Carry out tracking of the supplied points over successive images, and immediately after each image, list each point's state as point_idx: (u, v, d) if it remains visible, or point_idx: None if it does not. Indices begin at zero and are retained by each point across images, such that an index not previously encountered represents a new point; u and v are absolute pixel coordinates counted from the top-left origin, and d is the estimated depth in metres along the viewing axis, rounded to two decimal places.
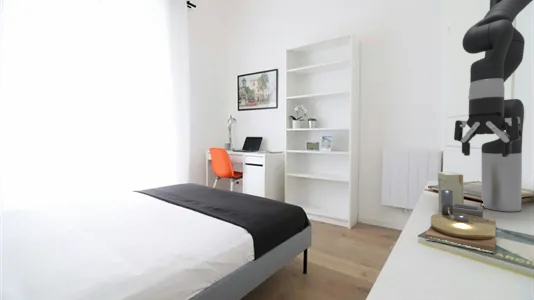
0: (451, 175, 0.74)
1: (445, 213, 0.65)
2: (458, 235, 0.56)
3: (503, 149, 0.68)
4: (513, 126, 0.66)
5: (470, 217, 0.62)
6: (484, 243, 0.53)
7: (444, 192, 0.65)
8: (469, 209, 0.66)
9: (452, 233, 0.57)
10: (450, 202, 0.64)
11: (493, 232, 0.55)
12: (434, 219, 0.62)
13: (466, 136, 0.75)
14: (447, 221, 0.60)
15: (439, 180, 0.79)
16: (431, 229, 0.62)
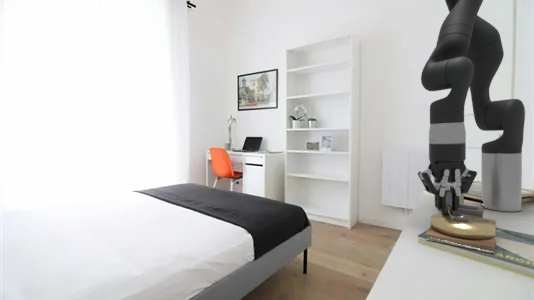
0: None
1: (445, 213, 0.65)
2: (458, 235, 0.56)
3: None
4: None
5: (470, 217, 0.62)
6: (484, 243, 0.53)
7: None
8: (469, 209, 0.66)
9: (452, 233, 0.57)
10: (450, 202, 0.64)
11: (493, 232, 0.55)
12: (434, 219, 0.62)
13: None
14: (447, 221, 0.60)
15: None
16: (431, 229, 0.62)
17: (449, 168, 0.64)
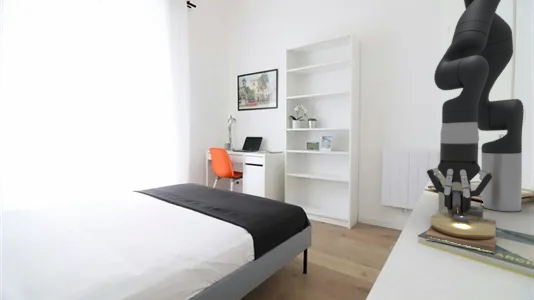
0: None
1: (453, 213, 0.65)
2: (444, 232, 0.58)
3: None
4: None
5: (478, 219, 0.61)
6: (484, 243, 0.53)
7: (452, 192, 0.64)
8: None
9: (440, 229, 0.59)
10: (458, 202, 0.64)
11: (484, 234, 0.55)
12: (433, 216, 0.64)
13: None
14: (443, 219, 0.61)
15: None
16: (431, 229, 0.62)
17: (456, 168, 0.64)
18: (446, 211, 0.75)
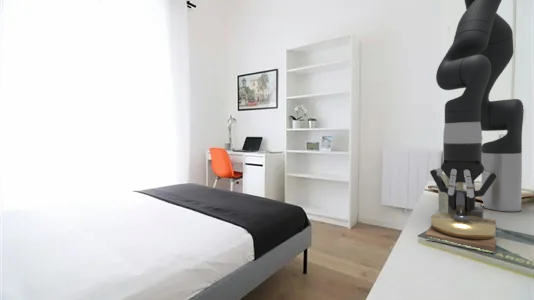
0: None
1: (456, 213, 0.64)
2: (440, 230, 0.59)
3: None
4: None
5: (480, 220, 0.60)
6: (484, 243, 0.53)
7: (455, 192, 0.64)
8: None
9: (437, 228, 0.60)
10: (461, 203, 0.63)
11: (480, 234, 0.55)
12: (434, 215, 0.65)
13: None
14: (443, 219, 0.62)
15: None
16: (431, 229, 0.62)
17: (460, 168, 0.63)
18: (446, 211, 0.75)
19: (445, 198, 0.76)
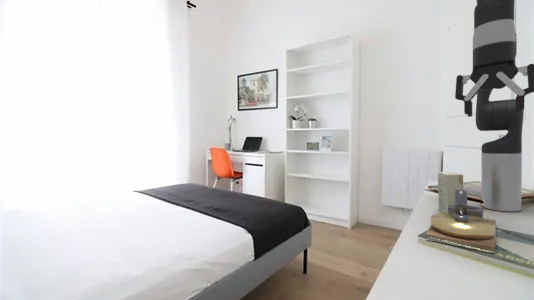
0: (451, 175, 0.74)
1: (456, 213, 0.64)
2: (440, 230, 0.59)
3: None
4: None
5: (480, 220, 0.60)
6: (484, 243, 0.53)
7: (455, 192, 0.64)
8: (469, 209, 0.66)
9: (437, 228, 0.60)
10: (461, 203, 0.63)
11: (480, 234, 0.55)
12: (434, 215, 0.65)
13: None
14: (443, 219, 0.62)
15: (439, 180, 0.79)
16: (431, 229, 0.62)
17: (492, 73, 0.60)
18: (446, 211, 0.75)
19: (445, 198, 0.76)
